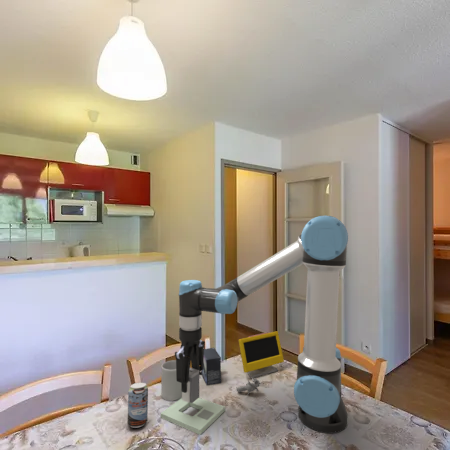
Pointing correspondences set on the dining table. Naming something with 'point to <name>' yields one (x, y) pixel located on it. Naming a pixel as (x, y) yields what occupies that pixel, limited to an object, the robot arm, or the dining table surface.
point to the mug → (170, 382)
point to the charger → (194, 384)
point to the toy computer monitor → (261, 353)
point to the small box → (211, 367)
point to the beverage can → (137, 405)
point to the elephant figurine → (249, 386)
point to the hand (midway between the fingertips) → (190, 397)
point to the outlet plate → (199, 420)
